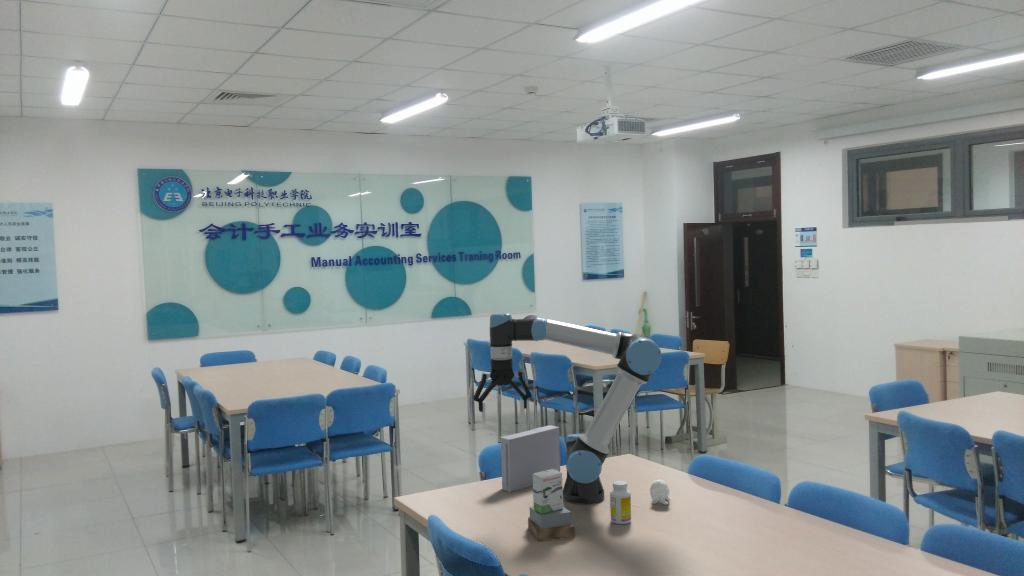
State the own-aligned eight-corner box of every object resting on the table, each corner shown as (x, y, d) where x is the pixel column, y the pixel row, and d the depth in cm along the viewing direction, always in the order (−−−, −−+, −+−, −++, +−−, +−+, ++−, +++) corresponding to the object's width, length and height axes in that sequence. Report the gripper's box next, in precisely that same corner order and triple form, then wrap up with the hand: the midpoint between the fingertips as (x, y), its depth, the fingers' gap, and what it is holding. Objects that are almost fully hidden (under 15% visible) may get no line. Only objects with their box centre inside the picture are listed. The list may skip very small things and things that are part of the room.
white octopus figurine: (648, 480, 264) (655, 474, 276) (648, 505, 264) (655, 498, 275) (666, 482, 262) (673, 475, 273) (666, 507, 262) (673, 499, 273)
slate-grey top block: (558, 514, 247) (558, 502, 247) (571, 524, 238) (570, 512, 238) (529, 519, 244) (529, 506, 244) (541, 529, 235) (541, 516, 234)
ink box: (542, 514, 236) (540, 477, 235) (533, 510, 240) (531, 473, 239) (564, 508, 241) (562, 471, 240) (555, 503, 245) (553, 468, 244)
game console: (499, 489, 288) (498, 437, 287) (550, 473, 306) (548, 424, 305) (510, 492, 283) (508, 439, 282) (560, 476, 302) (559, 427, 301)
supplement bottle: (633, 519, 251) (632, 481, 251) (627, 526, 245) (627, 486, 245) (614, 516, 254) (613, 479, 253) (608, 523, 248) (607, 484, 247)
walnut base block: (564, 525, 248) (563, 513, 248) (574, 539, 236) (574, 526, 236) (528, 529, 246) (528, 517, 246) (537, 543, 234) (536, 530, 234)
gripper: (467, 361, 255) (469, 424, 256) (539, 357, 260) (540, 419, 261) (463, 358, 262) (465, 419, 263) (533, 355, 268) (535, 414, 268)
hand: (503, 419), depth 262 cm, fingers open, 13 cm apart
